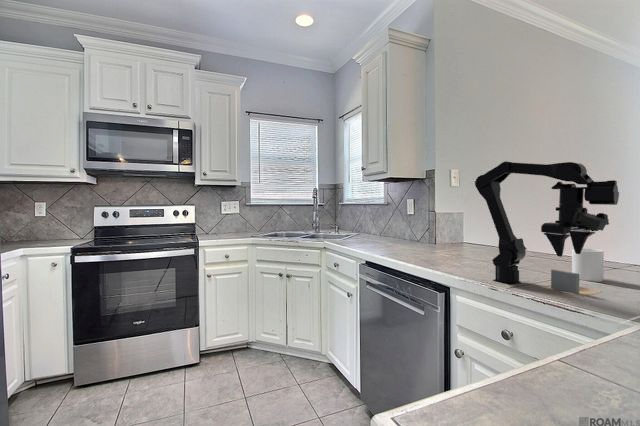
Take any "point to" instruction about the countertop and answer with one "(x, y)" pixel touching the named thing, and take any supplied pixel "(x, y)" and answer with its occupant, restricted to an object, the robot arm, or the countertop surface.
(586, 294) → the cork mat
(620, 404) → the countertop surface
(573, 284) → the slate tile
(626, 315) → the countertop surface
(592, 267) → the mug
